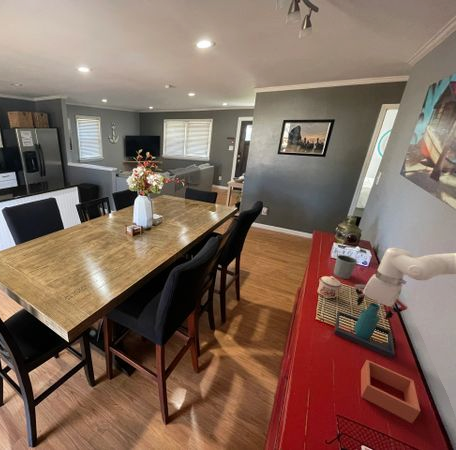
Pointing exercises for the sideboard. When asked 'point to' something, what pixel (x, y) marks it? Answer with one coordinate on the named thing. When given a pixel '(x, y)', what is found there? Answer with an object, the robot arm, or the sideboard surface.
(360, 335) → the bottle
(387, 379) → the bin
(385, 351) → the dark gray rectangular frame
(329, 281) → the teacup with lid
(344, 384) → the sideboard surface
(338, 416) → the sideboard surface
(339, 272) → the grey cup
